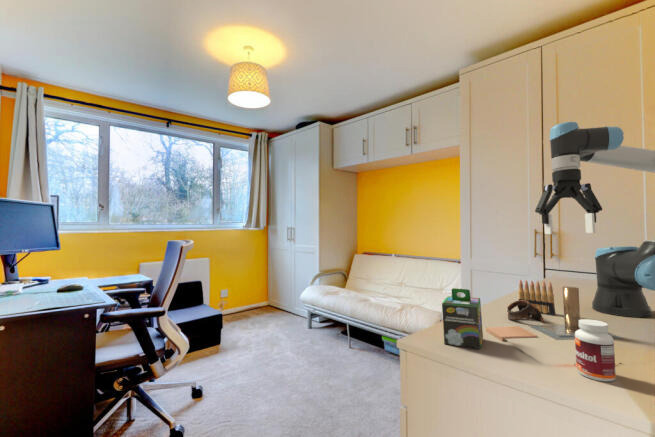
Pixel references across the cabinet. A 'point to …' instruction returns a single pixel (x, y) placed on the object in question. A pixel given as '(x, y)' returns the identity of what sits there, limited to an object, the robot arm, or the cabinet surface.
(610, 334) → the mat
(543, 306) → the ammunition clip
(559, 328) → the turner
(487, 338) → the cabinet surface
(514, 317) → the brown sandal
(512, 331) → the tile
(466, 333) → the chalk box
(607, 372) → the pill bottle
